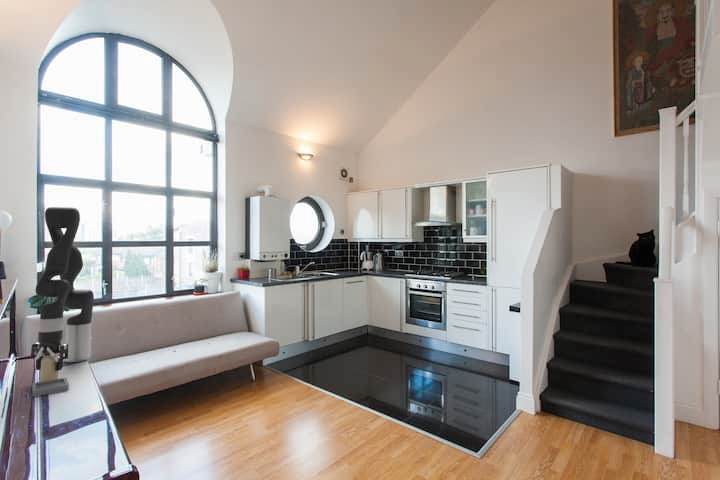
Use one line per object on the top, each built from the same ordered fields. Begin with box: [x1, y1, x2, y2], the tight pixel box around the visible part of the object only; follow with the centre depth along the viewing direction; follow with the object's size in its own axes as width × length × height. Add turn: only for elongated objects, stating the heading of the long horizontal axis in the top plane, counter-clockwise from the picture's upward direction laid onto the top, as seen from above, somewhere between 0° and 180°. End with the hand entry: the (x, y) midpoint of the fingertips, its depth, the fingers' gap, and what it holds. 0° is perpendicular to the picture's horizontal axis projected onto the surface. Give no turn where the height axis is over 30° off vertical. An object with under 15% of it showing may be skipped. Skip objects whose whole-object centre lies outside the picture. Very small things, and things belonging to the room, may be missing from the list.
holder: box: [31, 376, 70, 398], centre depth 135 cm, size 10×10×2 cm
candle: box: [39, 355, 60, 382], centre depth 143 cm, size 6×6×10 cm
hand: (48, 370), depth 143 cm, fingers open, 8 cm apart
